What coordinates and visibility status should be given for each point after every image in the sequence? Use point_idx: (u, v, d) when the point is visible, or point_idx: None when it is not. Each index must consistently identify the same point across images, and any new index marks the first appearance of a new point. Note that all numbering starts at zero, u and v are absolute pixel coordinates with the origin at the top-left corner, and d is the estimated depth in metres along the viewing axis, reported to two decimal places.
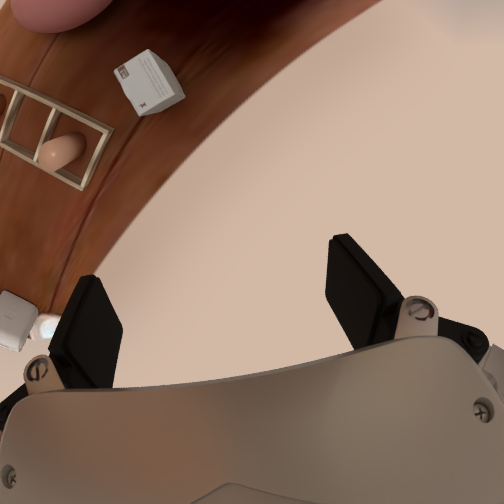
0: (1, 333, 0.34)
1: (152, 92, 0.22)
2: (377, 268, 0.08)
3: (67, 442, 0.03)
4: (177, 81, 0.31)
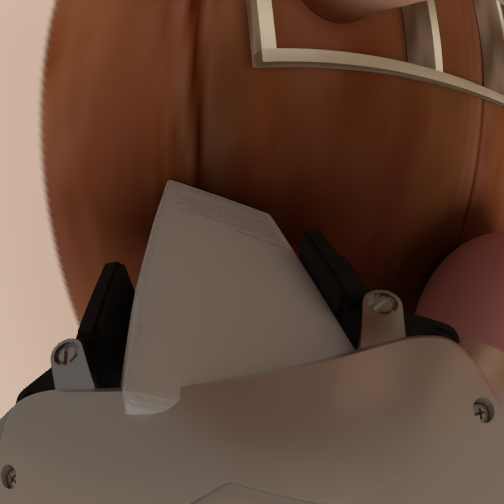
0: None
1: None
2: (342, 262, 0.09)
3: (67, 442, 0.03)
4: None
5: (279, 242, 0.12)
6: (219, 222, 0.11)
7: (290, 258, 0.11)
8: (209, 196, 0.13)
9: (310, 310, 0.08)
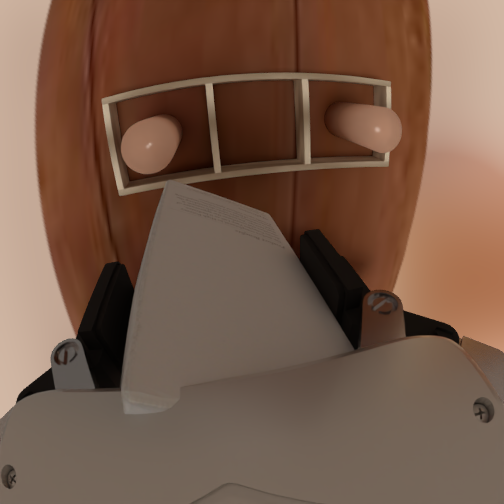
0: None
1: None
2: (342, 262, 0.09)
3: (67, 442, 0.03)
4: None
5: (278, 242, 0.12)
6: (218, 221, 0.11)
7: (289, 257, 0.11)
8: (208, 196, 0.13)
9: (309, 310, 0.08)
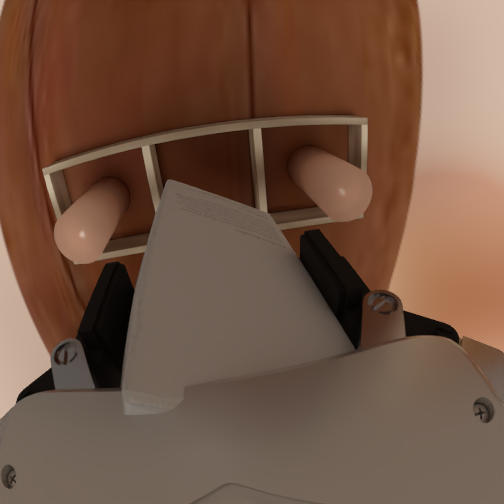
0: None
1: None
2: (342, 262, 0.09)
3: (67, 442, 0.03)
4: None
5: (279, 241, 0.12)
6: (218, 221, 0.11)
7: (290, 257, 0.11)
8: (209, 195, 0.13)
9: (310, 309, 0.08)
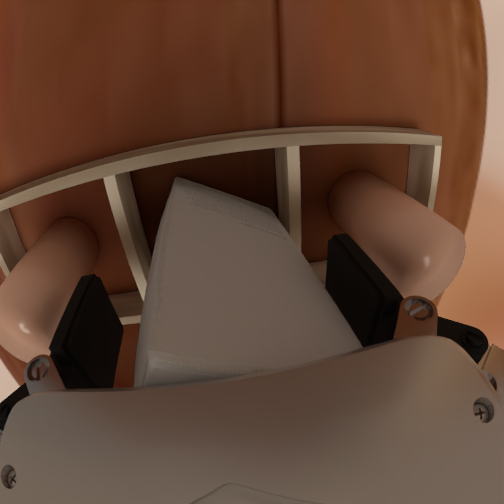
0: None
1: None
2: (376, 268, 0.08)
3: (67, 442, 0.03)
4: None
5: (280, 233, 0.13)
6: (225, 214, 0.12)
7: (291, 247, 0.12)
8: (214, 192, 0.14)
9: (309, 291, 0.09)
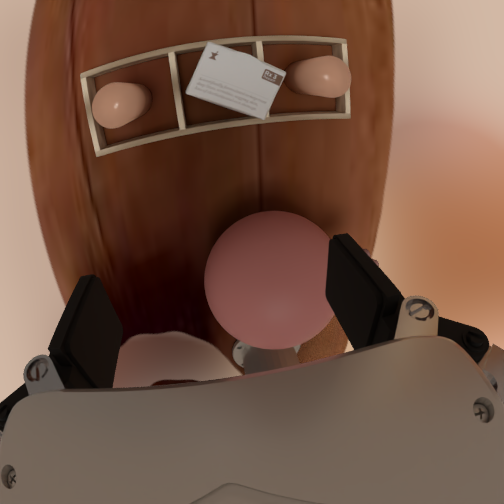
0: None
1: (214, 77, 0.16)
2: (377, 268, 0.08)
3: (67, 442, 0.03)
4: None
5: None
6: None
7: None
8: None
9: None
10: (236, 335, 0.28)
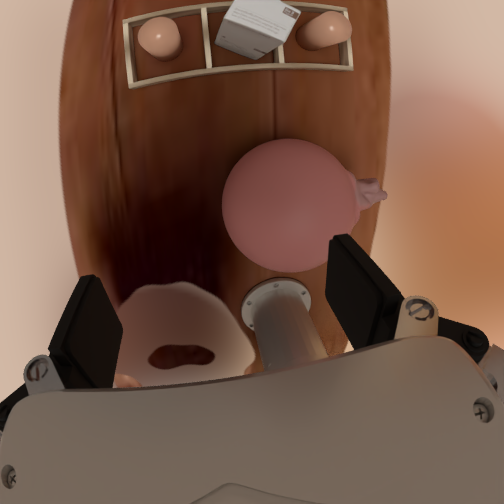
0: None
1: (247, 8, 0.17)
2: (377, 268, 0.08)
3: (67, 442, 0.03)
4: (233, 49, 0.27)
5: None
6: None
7: None
8: None
9: None
10: (253, 247, 0.28)
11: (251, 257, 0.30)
